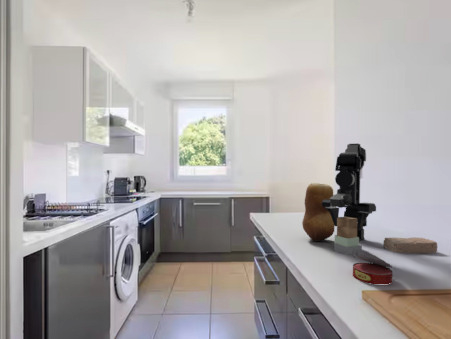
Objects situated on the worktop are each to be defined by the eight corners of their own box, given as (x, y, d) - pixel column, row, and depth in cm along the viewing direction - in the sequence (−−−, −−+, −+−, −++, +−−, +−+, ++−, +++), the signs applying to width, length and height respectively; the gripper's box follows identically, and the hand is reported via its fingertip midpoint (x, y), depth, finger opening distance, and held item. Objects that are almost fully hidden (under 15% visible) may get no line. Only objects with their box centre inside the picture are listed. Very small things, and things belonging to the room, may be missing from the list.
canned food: (351, 290, 82) (343, 255, 86) (388, 288, 81) (378, 253, 85) (363, 285, 72) (353, 246, 77) (405, 283, 71) (392, 243, 76)
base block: (334, 251, 107) (334, 243, 107) (344, 249, 111) (344, 241, 111) (351, 256, 101) (351, 247, 101) (361, 253, 105) (361, 245, 105)
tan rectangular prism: (336, 235, 107) (337, 217, 107) (345, 234, 110) (345, 216, 110) (348, 238, 103) (348, 219, 103) (356, 237, 105) (357, 218, 106)
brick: (394, 253, 106) (394, 240, 106) (382, 247, 114) (382, 235, 114) (438, 254, 106) (438, 242, 106) (422, 248, 114) (423, 237, 114)
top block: (334, 243, 108) (334, 235, 108) (345, 241, 110) (346, 234, 111) (347, 246, 103) (347, 238, 103) (358, 245, 105) (358, 237, 105)
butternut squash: (338, 244, 116) (339, 184, 116) (306, 243, 116) (307, 183, 117) (327, 237, 130) (328, 183, 130) (298, 236, 130) (299, 182, 130)
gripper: (313, 185, 109) (312, 226, 108) (361, 188, 94) (360, 235, 94) (330, 185, 115) (329, 223, 115) (377, 188, 100) (376, 231, 100)
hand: (347, 228), depth 106 cm, fingers open, 9 cm apart
